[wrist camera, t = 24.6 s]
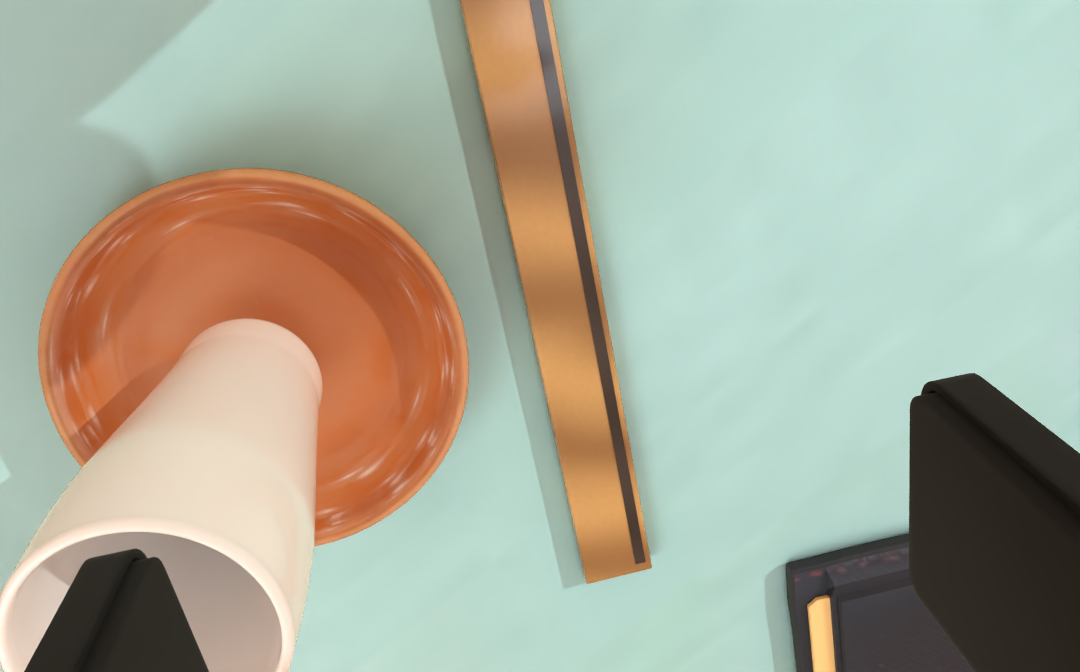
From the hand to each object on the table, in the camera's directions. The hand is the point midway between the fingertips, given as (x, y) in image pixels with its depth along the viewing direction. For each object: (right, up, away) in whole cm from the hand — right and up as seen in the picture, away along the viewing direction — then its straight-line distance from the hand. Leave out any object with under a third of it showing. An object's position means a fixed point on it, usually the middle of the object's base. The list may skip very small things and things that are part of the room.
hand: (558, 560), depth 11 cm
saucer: (-11, +2, +26) cm, 29 cm away
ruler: (+1, +5, +27) cm, 27 cm away
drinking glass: (-11, +1, +24) cm, 26 cm away
